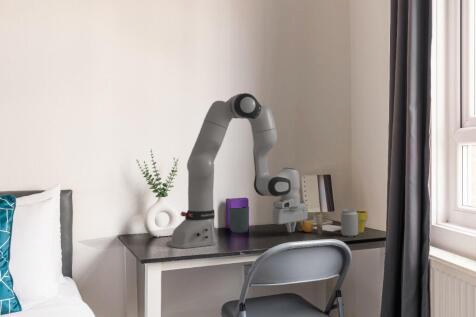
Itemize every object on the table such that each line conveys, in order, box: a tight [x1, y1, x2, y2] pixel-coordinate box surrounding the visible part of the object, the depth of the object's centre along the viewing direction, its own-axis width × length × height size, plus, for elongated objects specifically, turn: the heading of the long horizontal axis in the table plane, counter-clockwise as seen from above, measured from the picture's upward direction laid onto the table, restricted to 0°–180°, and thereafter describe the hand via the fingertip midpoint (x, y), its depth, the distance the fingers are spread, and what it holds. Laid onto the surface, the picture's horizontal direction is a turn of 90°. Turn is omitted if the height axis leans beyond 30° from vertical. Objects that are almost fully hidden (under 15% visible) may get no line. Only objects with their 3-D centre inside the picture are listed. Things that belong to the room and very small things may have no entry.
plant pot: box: [355, 209, 369, 234], centre depth 226 cm, size 10×10×10 cm
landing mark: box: [313, 224, 341, 232], centre depth 237 cm, size 14×14×1 cm
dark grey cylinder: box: [228, 205, 250, 233], centre depth 234 cm, size 10×10×12 cm
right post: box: [316, 213, 323, 235], centre depth 223 cm, size 3×3×9 cm
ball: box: [302, 220, 315, 233], centre depth 226 cm, size 6×6×6 cm
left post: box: [296, 221, 304, 232], centre depth 232 cm, size 3×3×9 cm
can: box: [340, 208, 359, 238], centre depth 216 cm, size 8×8×12 cm
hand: (291, 231), depth 219 cm, fingers closed
